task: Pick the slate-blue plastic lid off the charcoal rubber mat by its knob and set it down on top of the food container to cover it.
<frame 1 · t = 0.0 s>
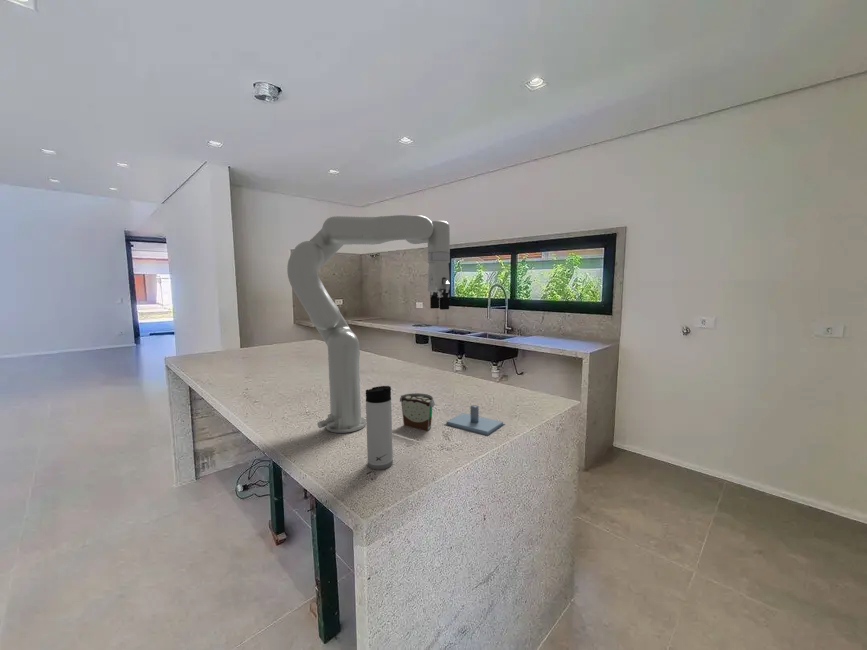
hand: (439, 308, 124), 37 cm above the table, tool pointing down, fingers open, 9 cm apart
mat: (474, 425, 115), on the table
food container: (421, 426, 116), on the table
lid: (474, 424, 115), resting on mat
travel mug: (380, 464, 90), on the table
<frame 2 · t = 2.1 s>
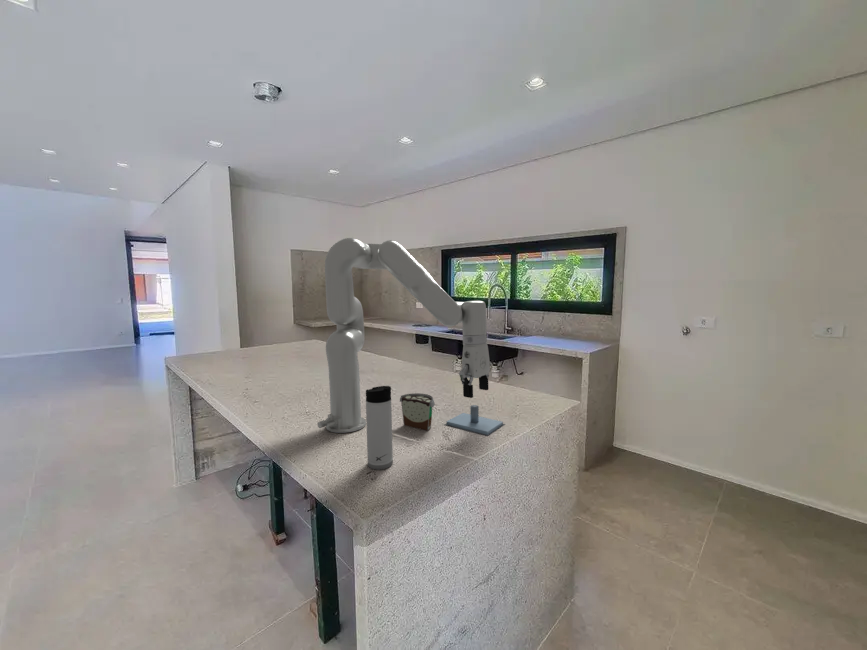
hand: (476, 393, 114), 11 cm above the table, tool pointing down, fingers open, 9 cm apart
nothing on the table moved.
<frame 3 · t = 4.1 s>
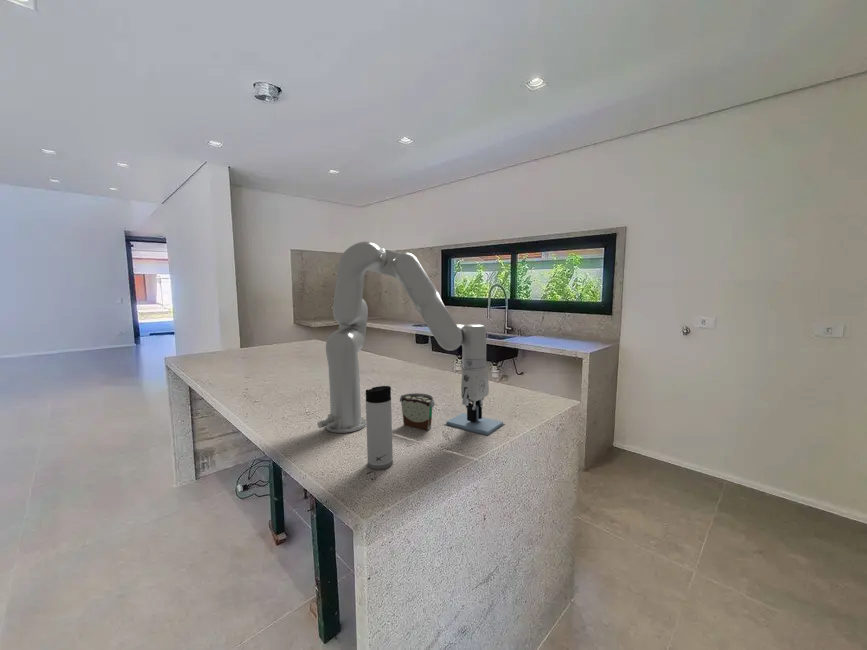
hand: (474, 419, 115), 2 cm above the table, tool pointing down, fingers closed on lid, 2 cm apart
lid: (474, 424, 115), resting on mat, touching gripper
everything else where it was.
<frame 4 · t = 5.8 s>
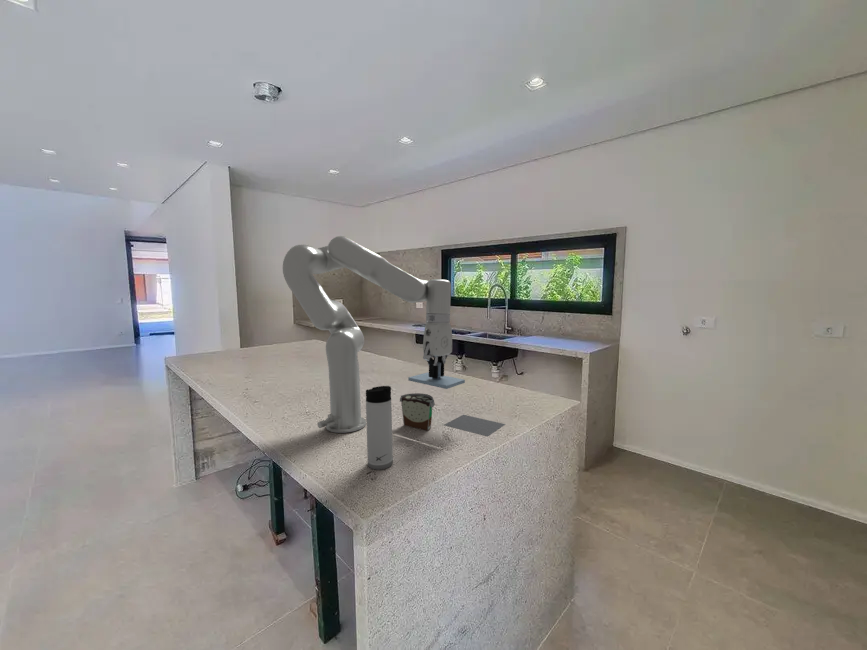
hand: (436, 376, 114), 16 cm above the table, tool pointing down, fingers closed on lid, 2 cm apart
lid: (436, 381, 114), point 15 cm above the table, touching gripper
everything else where it was.
when the fingers open (13 cm above the table, at t = 7.5 s): lid drops 1 cm, resting on food container.
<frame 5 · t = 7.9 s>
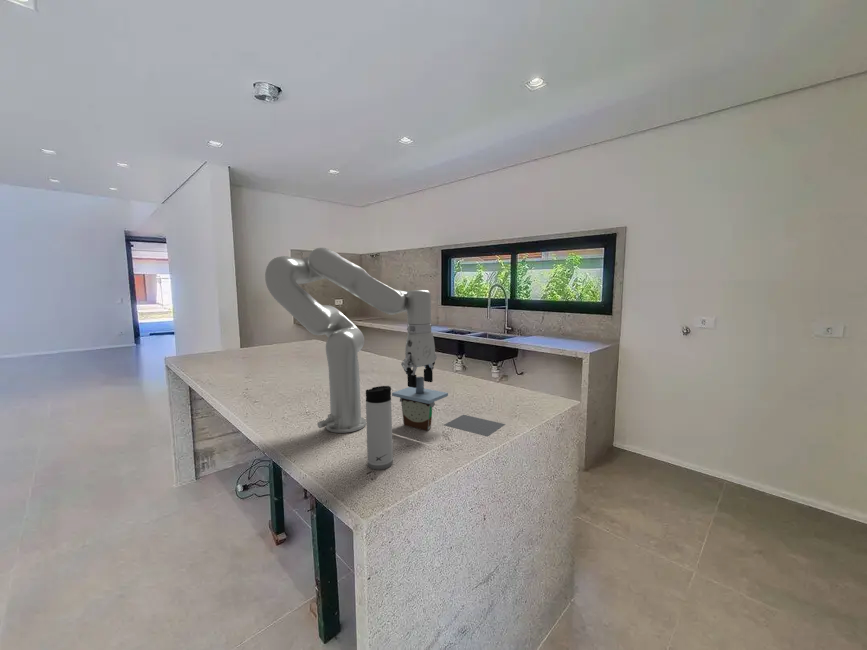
hand: (420, 383, 114), 14 cm above the table, tool pointing down, fingers open, 7 cm apart
food container: (421, 426, 116), on the table, touching lid
lid: (419, 395, 115), point 10 cm above the table, touching food container
everything else where it was.
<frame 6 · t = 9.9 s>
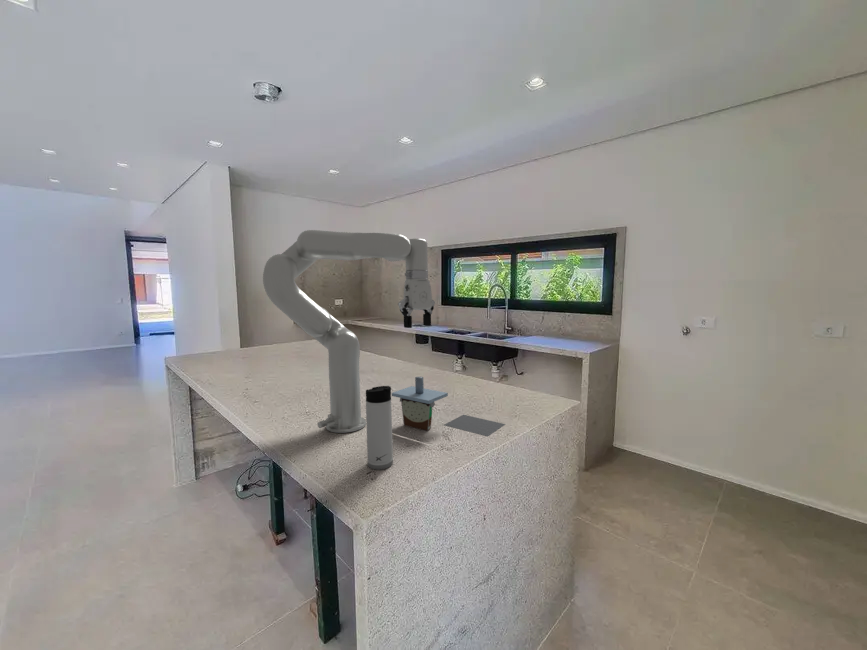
hand: (417, 326, 123), 31 cm above the table, tool pointing down, fingers open, 9 cm apart
nothing on the table moved.
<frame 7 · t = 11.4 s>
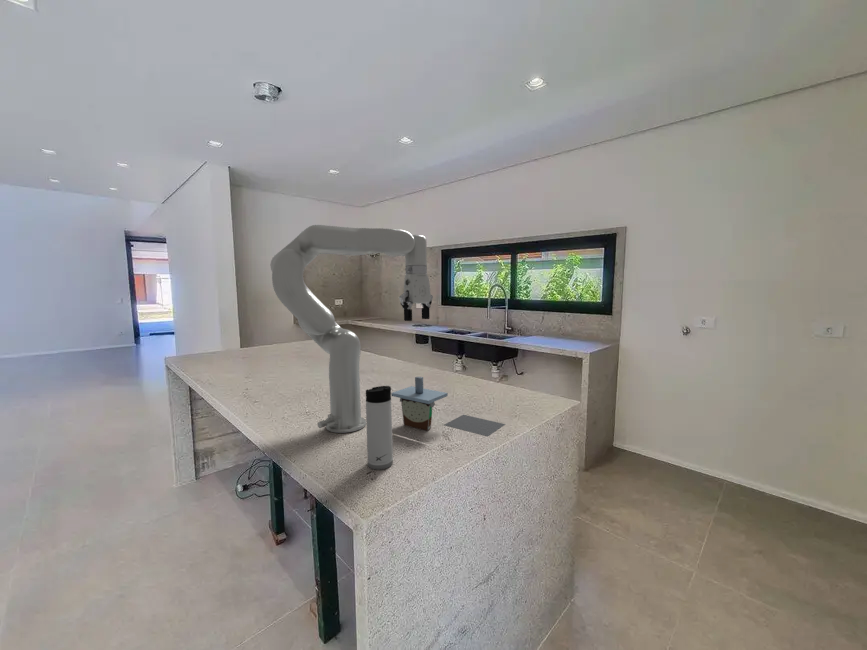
hand: (417, 319, 127), 33 cm above the table, tool pointing down, fingers open, 9 cm apart
nothing on the table moved.
at the end: lid inside the target area on the food container (0.4 cm from its centre), point 10.2 cm above the food container's base; lid touching food container; food container tilted 0° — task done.
